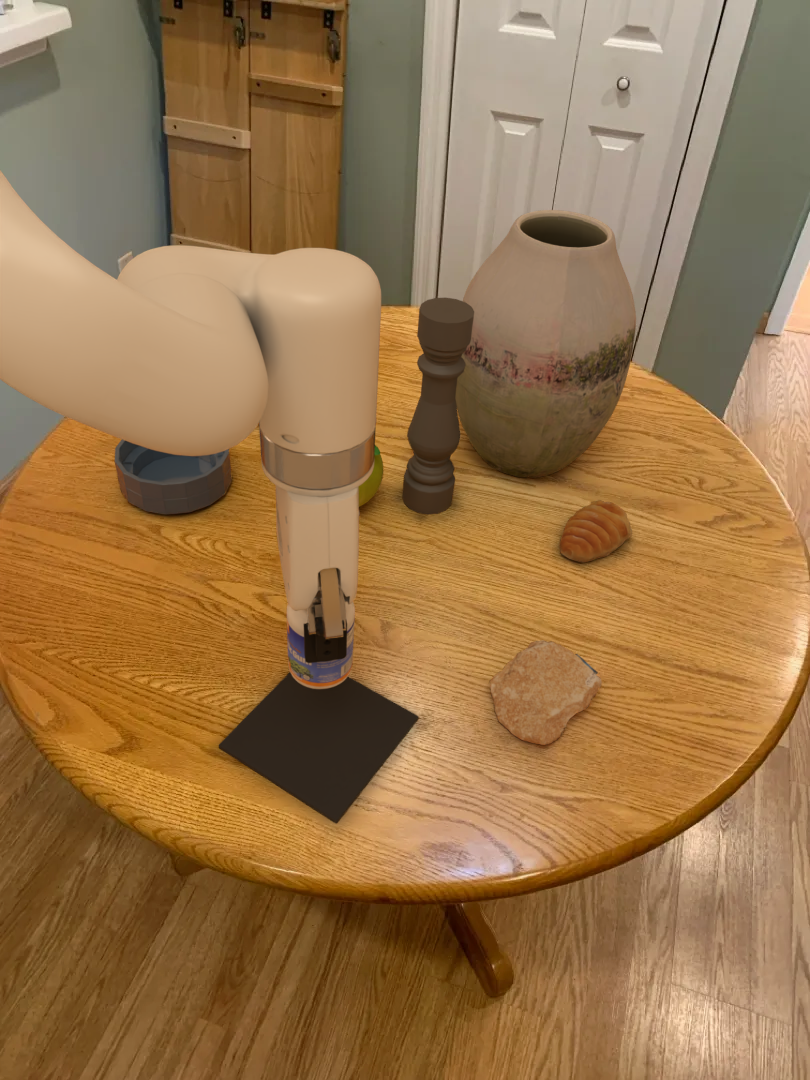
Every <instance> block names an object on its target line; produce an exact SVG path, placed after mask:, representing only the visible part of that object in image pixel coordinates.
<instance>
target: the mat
mask: <svg viewBox="0 0 810 1080" xmlns="http://www.w3.org/2000/svg"><path fill="white" fill-rule="evenodd" d="M418 720H419V715H417V714H416V713H414V712H412V711H410V710H409V709H407V708H405V707H403V706H402V705H399V704H398V703H397V702H394V701H393V700H391V699H389V698H387V697H386V696H384V695H382V694H380V693H378V692H376V691H374V690H373V689H372V688H369V687H367V686H365V685H364V684H363V683H361V682H359V681H357V680H355V679H354V678H351V677H350V676H348V677H347V678H346V679H345V680H344V681H343V682H342V683H340V684H338V685H337V686H334V687H331V688H326V689H313V688H309V687H306V686H304V685H302V684H300V683H299V682H297V681H296V680H295V679H294V678H293V676H292V674H291V673H290V672H288V673H287V675H285V677H283V678H282V679H281V680H280V682H279V683H278V684H277V685H275V687H274V688H273V689H272V690H271V691H270V692H269V693H267V695H265V697H264V698H263V699H262V700H261V701H260V702H259V703H258V704H257V705H256V706H255V707H254V708H253V709H252V710H251V711H250V712H249V713H248V714H247V715H246V716H245V717H244V718H243V719H242V720H241V721H240V723H238V724H237V725H236V726H235V728H234V729H232V730H231V732H230V733H229V734H228V735H227V736H226V737H224V739H223V740H222V741H221V742H220V743H219V744H218V749H219V750H221V751H222V752H224V753H226V754H227V755H229V756H230V757H232V758H234V759H235V760H236V761H238V762H240V763H241V764H243V765H244V766H246V767H247V768H249V769H251V770H252V771H254V772H255V773H257V774H258V775H259V776H261V777H263V778H265V779H266V780H268V781H269V782H271V783H272V784H274V785H275V786H277V787H278V788H280V789H281V790H283V791H284V792H286V793H288V794H289V795H290V796H292V797H294V798H296V799H297V800H298V801H300V802H302V803H303V804H305V805H306V806H308V807H309V808H311V809H312V810H314V811H316V812H317V813H319V814H320V815H322V816H323V817H325V818H327V819H328V820H330V821H331V822H333V823H335V824H336V825H337V824H338V823H339V822H340V820H341V819H342V818H343V816H344V815H345V814H346V812H347V811H348V810H349V809H350V807H351V806H352V805H353V804H354V802H356V800H357V799H358V798H359V796H360V794H361V793H362V792H363V791H364V790H365V788H366V787H367V786H368V784H369V783H370V782H371V780H372V779H373V778H374V777H375V775H376V774H377V773H378V772H379V770H380V769H381V768H382V767H383V765H384V764H385V763H386V761H387V760H388V758H390V756H391V755H392V754H393V752H394V751H395V750H396V749H397V747H398V746H399V745H400V743H401V742H402V741H403V740H404V738H405V737H406V736H407V734H408V733H410V731H411V729H412V728H413V727H414V726H415V724H416V723H417V722H418Z"/></svg>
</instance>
